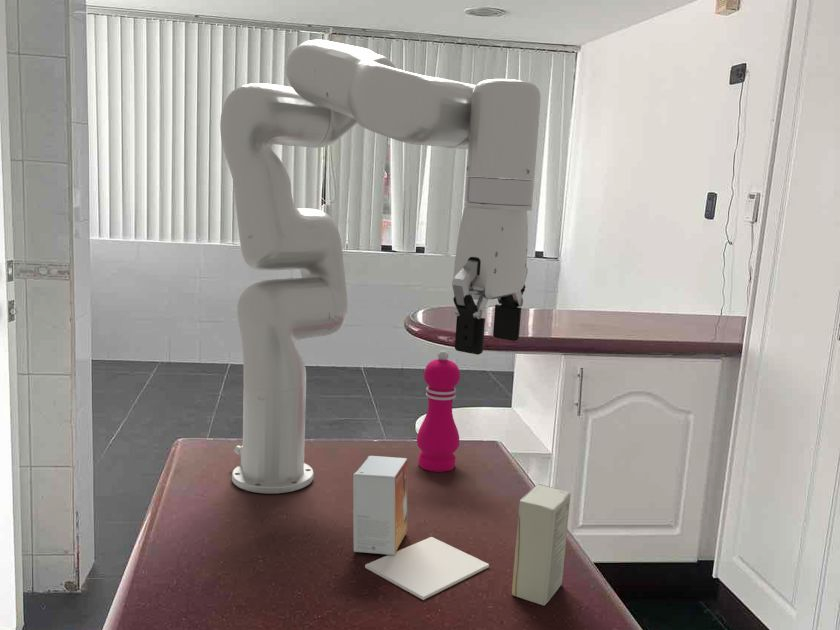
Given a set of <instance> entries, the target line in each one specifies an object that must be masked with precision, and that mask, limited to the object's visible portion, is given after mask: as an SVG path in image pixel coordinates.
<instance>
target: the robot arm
mask: <svg viewBox="0 0 840 630" xmlns="http://www.w3.org/2000/svg"><path fill="white" fill-rule="evenodd" d="M285 74H286V78H287V81H288V83H289V85H290V86H286V85H281V84H272V83H261V82H260V83H257V82H256V83H255V82H254V83H247V84H243V85H240V86H238V87H236V88H235V89H233V90H232V91H231V92H230V93H229V94H228V96H227V97H226V99H225V100H224V102H223V106H222V110H221V113H220V123H219V124H220V126H219V127H220V138H221V140H220V141H221V143H222V148H223V153H224V156H225V160H226V161H227V165H228V168H229V171H230V175H231V179H232V183H233V191H234V202H235V212H236V221H237V228H238V235H239V236H238V237H239V244H240V249H241V254H242V257H243V259H244V261H245V263H246V264H247V266H249V267H250V268H252V269H255V270H258V271H291V270H299V271H300V275H301V277H296V278H294V277H290V278H289V277H288V278H274V279H265V280H260V281H257V282H255V283H252V284H250V285H249V286H248V287H246V288H245V289H244V290H243V291H242V292H241V294H240V295H239V298H238V300H237V301H238V302H237V307H236V309H237V311H236V312H237V318H238V319H237V321H238V326H239V331H240V336H241V337H240V338H241V343H242V346H241V347H242V360H243V363H242V367H243V368H242V370H243V372H242V373H243V376H242V377H243V378H242V379H243V380H242V382H243V383H242V384H243V391H242V392H243V393H242V394H243V397H242V400H243V401H242V402H243V404H242V407H243V408H242V409H243V410H242V443H241V445H236V446H235V447H234V450H233V451H234V453H235V454H236V455H239V456H240V464H238V466H235V468H234V469H233V470H232V471H231V472H232V473H231V481H232V483H233V484H234V485H235V486H236V487H237V488H239V489H240V490H244V491H246V492H251V493H257V494H269V495H271V494H273V495H274V494H285V493H290V492H296V491H298V490H301V489H304V488H305V487H307V486H309V485H310V484H311V483H312V482H313V481H314V469H313V468H312V466H310V465H309V464H307V463H305V442H306V441H305V439H306V438H305V437H306V407H307V406H306V401H307V399H306V398H307V370H306V369H307V368H306V364H305V361H304V359H303V357H302V356H301V354H300V353H299V351H298V349H297V347H296V345H295V341H300V340H305V339H313V338H320V337H325V336H326V337H327V336H330V335H334V334H335V333H337V332H338V331H340V330H341V329H342V328H343V326H344V325H345V322H346V320H347V316H348V305H349V304H348V292H347V283H346V274H345V273H346V272H345V271H346V270H345V263H344V255H343V245H342V241H341V234H340V232H339V228H338V227H337V224H336V223H335V221H334V220H333V218H332V217H331V216H330V215H329V214H328V213H327V212H325V211H323V210H320V209H317V208H312V207H311V208H309V207H308V208H307V207H306V208H305V207H304V208H303V207H299V208H298V207H296V206H295V204H294V200H293V194H292V184H291V177H290V176H289V172H288V171H287V169H286V167H285V165H284V164H283V162H282V160H281V159H280V158H279V156H278V155H277V154H276V153H275V151H274V150H273V149H272V147H273V145H280V146H289V147H303V148H312V149H313V148H314V149H315V148H317V149H318V148H325V147H328V146H330V145H332V144H334V143H336V142H337V141H339V139H341V138H342V137H343V136H344V135H345V134H347V133H348V132H349V131H350V130H352V129H353V128H354V127H355V126H356V125H357V124H358V125H359V126H360V127H361V128H364V129H366V130H368V131H369V132H373V133H375V134H378V135H381V136H384V137H386V138H390V139H392V140H395V141H397V142H398V141H399V142H401V143H406V144H410V145H417V146H428V147H429V146H430V147H438V148H439V147H441V148H447V149H457V150H467V163H466V178H465V193H464V209H463V212H462V216H461V221H460V224H459V229H458V237H457V244H456V249H455V250H456V251H455V259H454V267H453V268H454V269H453V278H452V283H451V284H452V290H453V295H454V296H453V298H452V300H453V303H454V306H455V309H454V314H455V316H456V321H455V322H456V323H455V337H454V339H455V341H454V349H455V351H457V352H461V353H467V354H473V355H480V354H482V353H483V351H484V350H483V349H484V342H485V341H484V337H485V328H486V327H485V326H486V325H485V324H486V318H484V317H482V316H483V314H484V311H485V309H486V306H487V304H488V302H489V300H495V299H497V302H498V304H497V303H496V304H495V306H494V313H493V314H494V317H493V331H492V335H493V338H495V339H502V340H507V341H512V342H515V341H518V340H519V339H520V329H521V328H520V327H521V316H522V307H523V304H524V298H523V294H524V292H525V291H526V285H525V284H526V280H527V276H528V273H529V269H528V266H527V261H528V242H529V240H528V237H529V236H528V235H529V234H528V232H529V229H528V227H529V226H528V224H529V222H528V221H529V219H528V218H529V217H528V211H529V212H531V211H532V210H533V201H534V187H535V186H534V185H535V175H536V162H537V151H538V150H537V148H538V138H539V137H538V136H539V127H540V126H539V125H540V112H541V96H542V95H541V91H540V89H539V87H538V86H537V85H536V84H535V83H532V82H530V81H526V80H520V79H512V78H511V79H509V78H494V79H492V78H491V79H485V80H482V81H480V82H478V83H477V84H474V83H467V82H461V81H458V80H453V79H447V78H441V77H435V76H429V75H423V74H419V73H414V72H409V71H407V70H406V71H405V70H402V69H398V68H397V67H396V65H395V64H394V63H393V61H392V60H390V59H389V58H388V57H386V56H384V55H382V54H378V53H376V52H375V51H373V50H370V49H369V48H367V47H366V48H365V47H361V46H356V45H350V44H347V43H346V44H345V43H341V42H336V41H332V40H331V41H330V40H326V39H311V40H307V41H304V42H302V43H300V44H298V45H297V46H296V47H294V49H293V50H291V52H290V53H289V55H288V58H287V60H286V65H285ZM474 300H477V302H476V303H475V301H474Z"/></svg>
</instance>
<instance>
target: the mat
mask: <svg viewBox="0 0 840 630" xmlns="http://www.w3.org/2000/svg"><path fill="white" fill-rule="evenodd" d="M364 568H365V569H367V571H371V572H372V573H374V574H375V575H378V576H379V577H381V578H382V579H385V580H386V581H388V582H390V583H392V584H394V585H395V586H397V587H399V588H400V589H402V590H404V591H406V592H409V594H412V595H414V596H415V597H417V598H419V599H420V600H422V601H425V600H426V599H428V598H431V597H433V596H434V595H437V594H439V593H440V592H442V591H444V590H446V589H448V588H451V587H452V586H454V585H456V584H458V583H460V582H462V581H464V580H466V579H469V578H470V577H473V576H474V575H476V574H478V573H480V572H482V571H484V570H486V569H488V568H490V563H488V562H485V561H483V560H481V559H479V558H478V557H476V556H473V555H471V554H469V553H466V552H464V551H462V550H460V549H458V548H456V547H453V546H452V545H450V544H448V543H446V542H444V541H442V540H439V539H437V538H435V537H433V536H429V537H427V538H426V539H423V540H421V541H418V542H416V543H413V544H411V545H408V546H406V547H404V548H401V549H398V550H397V551H396V553H395V555H387V554H386V555H385V556H382V557H379V558H378V559H376V560H373V561H370V562H369V563H366V564H365V565H364Z"/></svg>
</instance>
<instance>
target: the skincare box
mask: <svg viewBox="0 0 840 630" xmlns="http://www.w3.org/2000/svg"><path fill="white" fill-rule="evenodd" d="M571 493H572V492H571V491H567V490H564V489H560V488H556V487H553V486H552V487H551V486H549V485H545V484H541V483H537V484H535V486H533V487H532V488H531V489H530V490H529V491H528V492H527V493H526V494H525V495H524V496H522V498H521V499H520V500H519V505H518V515H517V516H518V517H517V527H516V528H517V529H516V536H515V537H516V539H515V540H516V541H515V550H514V561H513V573H512V574H513V575H512V585H511V587H512V588H511V596H514V597H517V598H520V599H522V600H525V601H529V602H531V603H534V604H538V605H541V606H543V607H544V606H545V605H546V604H547V603H549V601H550V600H551V598H553V596H554V595H555V594H556V592H557V591H558V590H559V588H560V587H561V585H562V583H563V576H564V563H565V555H566V545H567V543H566V542H567V535H568V534H567V533H568V527H569V526H568V524H569V515H570V505H571Z"/></svg>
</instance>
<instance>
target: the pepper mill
mask: <svg viewBox="0 0 840 630" xmlns="http://www.w3.org/2000/svg"><path fill="white" fill-rule="evenodd" d="M437 353H438V354H437V358H436V359H433V360H431V361H429V362H428V364H427V365H426V366H425V368H424V371H423V379H424V381H425V383H426V384H427V385H428V386H427V387H426V388H425V391H426V393H425V396H426V397H427V400H428V402H427V403H428V405H427V411H426V415H425V416H424V418H423V421H422V423H421V425H420V427H419V429H418V431H417V435H416V436H417V437H416V444H417V447H418V449H420V451H421V452H419V454H418V462H417V463H418V466H419V467H420V468H421V469H423V470H425V471H427V472H428V471H430V472H435V473H441V472H442V473H444V472H449V471H452V470H454V469H455V467H456V455H455V454H454V453H456V451H457V450H458V448H459V446H460V435H459V430H458V428H457V425H456V422H455V419H454V416H453V402H454V399H455V398H456V396H457V395H456V393H457V389H456V388H455V387H456V386H457V385H458V383H459V381H460V380H461V379H460V377H461V374H460V368H459V366H458V365H457V364H456V363H455V362H453V361H452V360H450V359H448V358H449V352H448V351H446V350H444V349H443V350H440V351H439V352H437Z"/></svg>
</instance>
